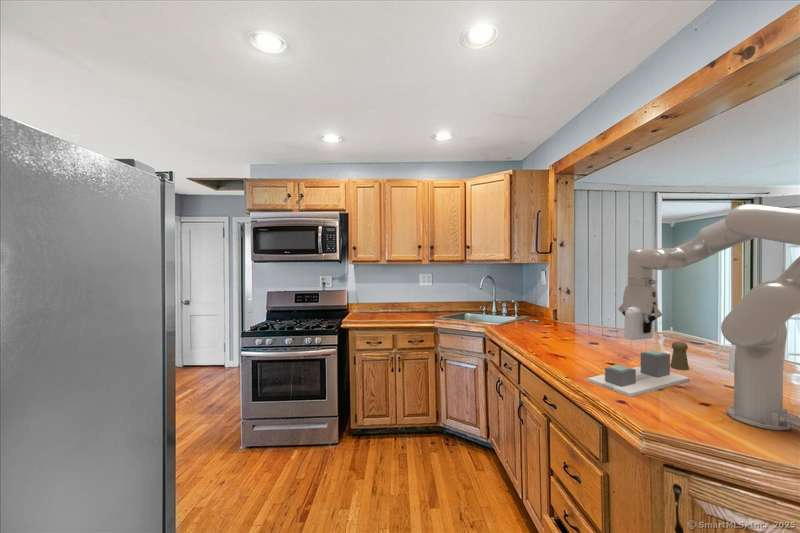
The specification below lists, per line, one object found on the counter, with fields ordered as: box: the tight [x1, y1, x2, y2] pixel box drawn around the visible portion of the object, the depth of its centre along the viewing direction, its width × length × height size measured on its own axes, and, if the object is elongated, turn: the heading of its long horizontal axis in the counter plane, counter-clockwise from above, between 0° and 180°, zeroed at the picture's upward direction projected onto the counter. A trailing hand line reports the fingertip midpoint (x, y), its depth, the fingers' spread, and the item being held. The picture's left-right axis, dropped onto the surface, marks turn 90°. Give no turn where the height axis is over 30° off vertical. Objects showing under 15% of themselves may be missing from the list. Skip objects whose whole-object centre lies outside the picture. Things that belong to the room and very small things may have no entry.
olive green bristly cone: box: [670, 341, 689, 371], centre depth 140 cm, size 6×6×11 cm
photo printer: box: [623, 306, 654, 341], centre depth 123 cm, size 10×4×12 cm, turn 105°
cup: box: [716, 344, 736, 374], centre depth 135 cm, size 8×12×10 cm
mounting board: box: [586, 350, 690, 398], centre depth 126 cm, size 16×35×10 cm, turn 113°
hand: (638, 330), depth 123 cm, fingers closed on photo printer, 4 cm apart
